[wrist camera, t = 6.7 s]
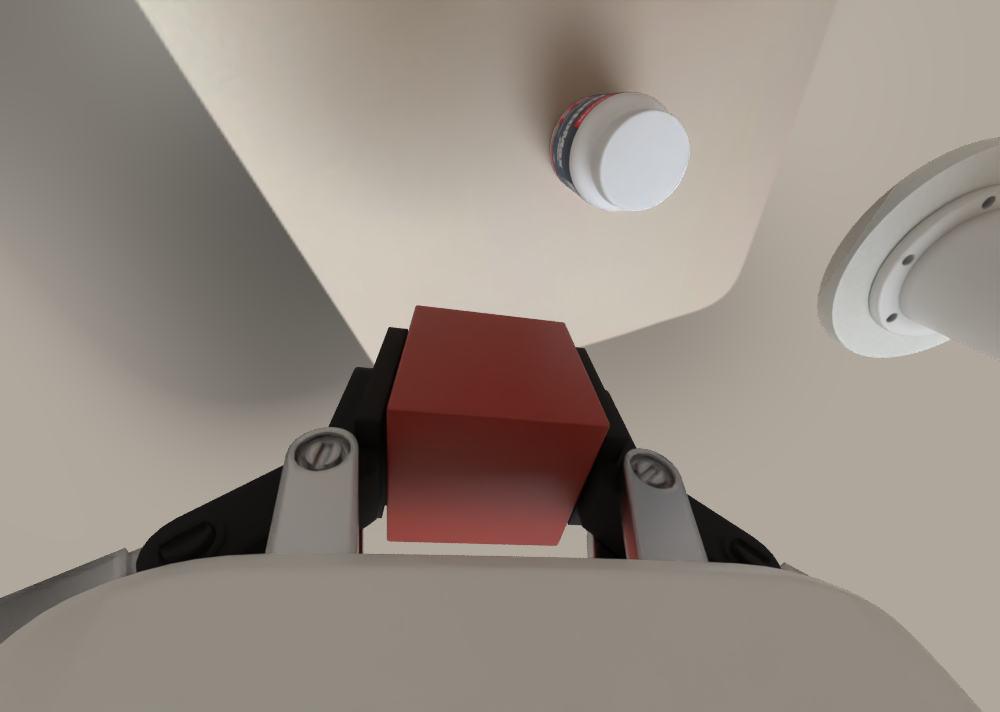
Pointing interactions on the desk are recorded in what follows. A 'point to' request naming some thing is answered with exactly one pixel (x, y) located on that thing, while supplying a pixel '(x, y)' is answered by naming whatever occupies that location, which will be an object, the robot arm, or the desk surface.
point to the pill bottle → (620, 151)
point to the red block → (488, 430)
